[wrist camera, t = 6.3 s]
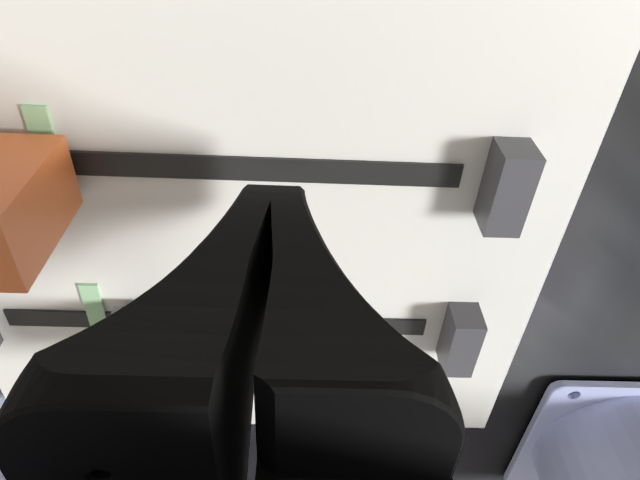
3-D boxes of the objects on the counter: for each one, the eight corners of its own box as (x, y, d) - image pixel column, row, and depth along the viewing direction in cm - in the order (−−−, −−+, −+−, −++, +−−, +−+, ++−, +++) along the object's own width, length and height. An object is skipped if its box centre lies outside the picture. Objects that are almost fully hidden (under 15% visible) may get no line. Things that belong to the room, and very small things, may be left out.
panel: (658, -78, 12) (723, -60, 10) (477, 402, 23) (492, 455, 21) (-217, -123, 11) (-324, -113, 9) (29, 394, 22) (2, 447, 20)
